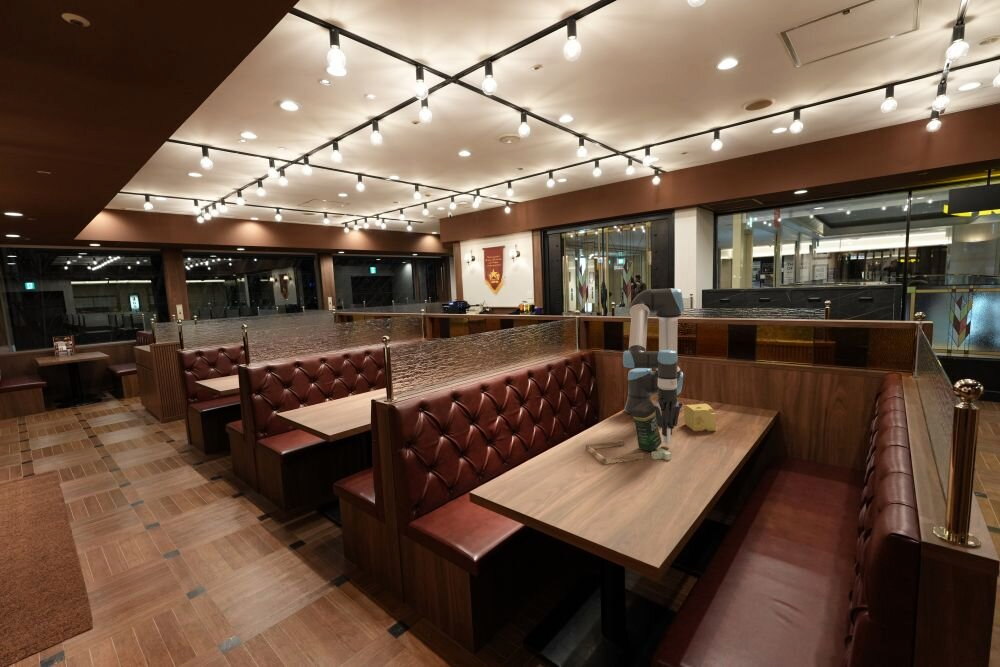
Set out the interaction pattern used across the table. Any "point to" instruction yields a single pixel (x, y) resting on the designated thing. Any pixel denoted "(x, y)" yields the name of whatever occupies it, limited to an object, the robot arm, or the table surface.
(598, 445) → the oak frame
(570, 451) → the table surface
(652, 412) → the coffee jar
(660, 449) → the sage T block
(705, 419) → the cheese
